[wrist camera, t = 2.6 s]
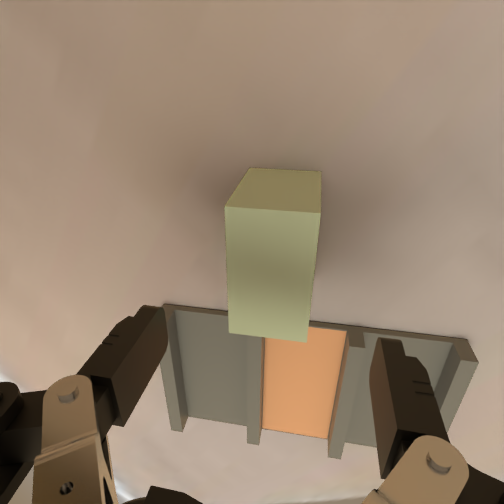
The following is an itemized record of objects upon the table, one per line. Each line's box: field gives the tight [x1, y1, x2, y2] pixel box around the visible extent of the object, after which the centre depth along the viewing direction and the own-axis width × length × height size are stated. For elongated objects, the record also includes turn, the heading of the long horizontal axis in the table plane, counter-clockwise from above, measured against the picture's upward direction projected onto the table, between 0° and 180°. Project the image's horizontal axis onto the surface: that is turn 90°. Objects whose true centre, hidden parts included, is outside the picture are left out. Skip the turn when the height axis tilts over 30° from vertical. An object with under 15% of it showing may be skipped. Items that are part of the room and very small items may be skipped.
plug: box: [224, 168, 321, 343], centre depth 19 cm, size 4×7×6 cm, turn 0°
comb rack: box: [160, 304, 479, 459], centre depth 26 cm, size 21×12×2 cm, turn 90°
